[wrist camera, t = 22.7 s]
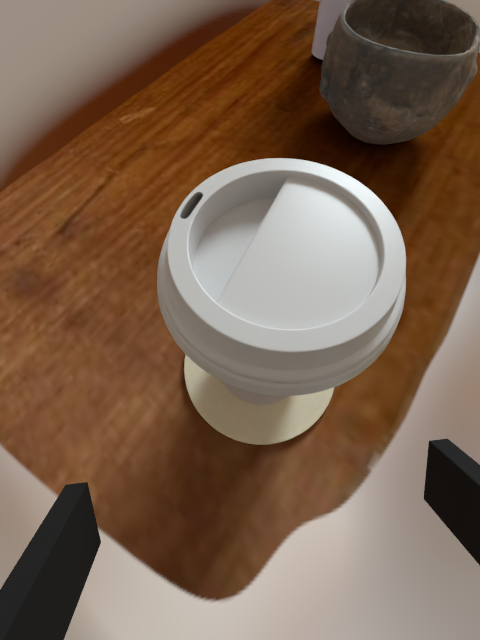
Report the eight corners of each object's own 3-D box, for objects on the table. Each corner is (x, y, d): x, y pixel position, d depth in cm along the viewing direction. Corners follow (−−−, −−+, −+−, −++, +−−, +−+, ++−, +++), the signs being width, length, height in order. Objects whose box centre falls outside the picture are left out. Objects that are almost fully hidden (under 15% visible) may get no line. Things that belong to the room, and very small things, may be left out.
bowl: (377, 188, 32) (430, 82, 23) (282, 116, 37) (295, 6, 28) (456, 134, 36) (531, 24, 26) (360, 75, 41) (394, -35, 31)
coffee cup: (261, 288, 26) (282, 111, 13) (346, 366, 24) (491, 246, 10) (174, 359, 24) (84, 232, 10) (258, 457, 21) (289, 463, 7)
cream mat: (198, 462, 21) (197, 462, 21) (175, 313, 26) (174, 310, 26) (356, 423, 22) (359, 423, 22) (307, 287, 27) (309, 284, 27)
